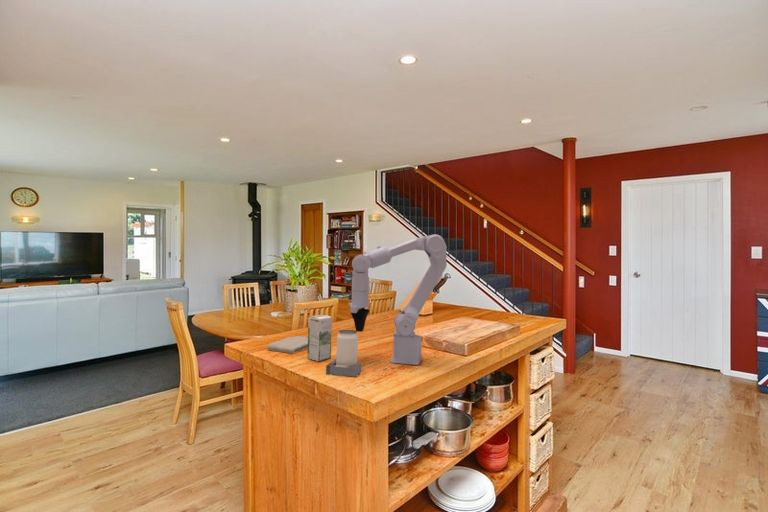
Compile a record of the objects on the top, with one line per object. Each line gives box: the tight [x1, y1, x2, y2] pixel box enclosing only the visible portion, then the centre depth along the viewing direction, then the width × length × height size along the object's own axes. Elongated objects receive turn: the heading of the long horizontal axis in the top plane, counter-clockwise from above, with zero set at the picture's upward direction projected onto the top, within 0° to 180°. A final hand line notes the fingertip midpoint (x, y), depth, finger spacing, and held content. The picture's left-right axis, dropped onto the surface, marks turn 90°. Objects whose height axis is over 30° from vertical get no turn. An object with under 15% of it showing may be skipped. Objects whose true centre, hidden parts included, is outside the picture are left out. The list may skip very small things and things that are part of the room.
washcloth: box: [266, 335, 308, 355], centre depth 148 cm, size 12×18×3 cm, turn 156°
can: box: [335, 329, 359, 367], centre depth 121 cm, size 6×6×12 cm
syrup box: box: [306, 314, 333, 362], centre depth 133 cm, size 6×6×14 cm
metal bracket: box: [325, 358, 363, 378], centre depth 125 cm, size 9×20×3 cm, turn 166°
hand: (359, 331), depth 131 cm, fingers closed
